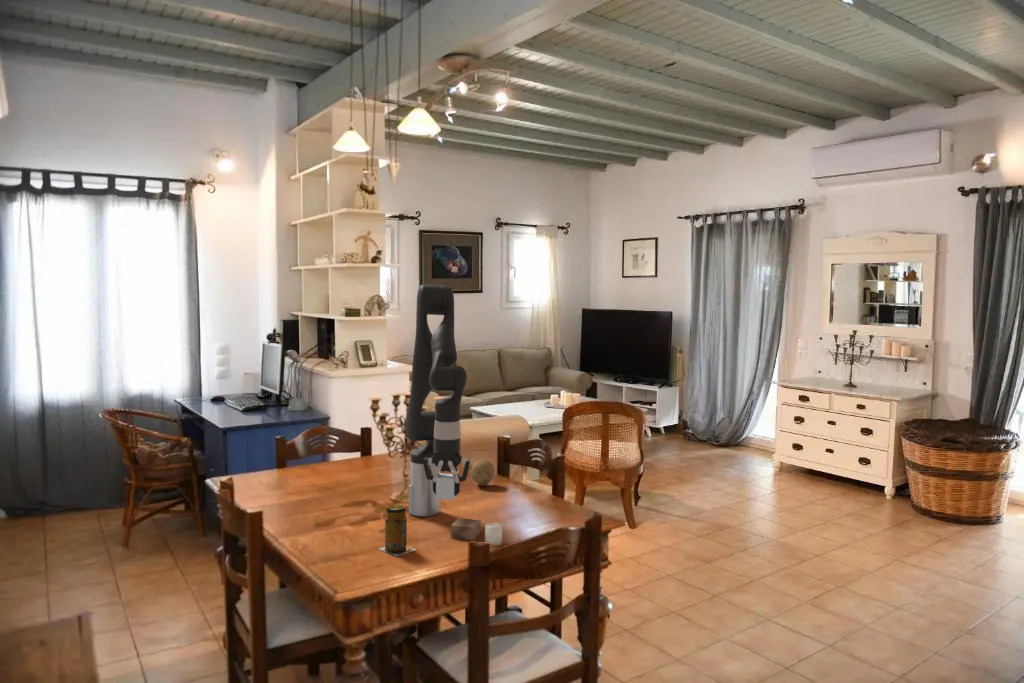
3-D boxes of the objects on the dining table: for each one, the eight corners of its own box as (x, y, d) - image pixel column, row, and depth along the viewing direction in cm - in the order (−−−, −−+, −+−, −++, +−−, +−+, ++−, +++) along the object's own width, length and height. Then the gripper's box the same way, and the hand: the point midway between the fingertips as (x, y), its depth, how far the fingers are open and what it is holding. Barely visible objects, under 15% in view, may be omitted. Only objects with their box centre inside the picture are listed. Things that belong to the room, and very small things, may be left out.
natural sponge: (491, 490, 269) (491, 463, 268) (467, 488, 270) (468, 462, 270) (496, 483, 278) (496, 457, 277) (473, 482, 279) (473, 456, 278)
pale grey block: (435, 498, 208) (436, 478, 208) (439, 493, 213) (439, 473, 213) (453, 499, 208) (453, 478, 207) (456, 494, 213) (456, 474, 212)
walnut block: (451, 538, 219) (451, 525, 218) (458, 530, 225) (458, 518, 225) (473, 540, 217) (473, 527, 217) (480, 533, 224) (480, 520, 223)
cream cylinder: (483, 545, 213) (483, 528, 213) (486, 539, 218) (486, 522, 218) (500, 545, 212) (501, 529, 212) (503, 540, 217) (503, 523, 217)
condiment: (398, 543, 214) (398, 502, 213) (416, 550, 208) (417, 508, 207) (377, 549, 208) (377, 507, 207) (396, 557, 203) (396, 514, 202)
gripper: (419, 437, 206) (418, 497, 208) (470, 439, 205) (469, 499, 206) (425, 432, 214) (424, 489, 215) (474, 434, 212) (473, 492, 214)
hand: (446, 494), depth 211 cm, fingers closed on pale grey block, 5 cm apart
